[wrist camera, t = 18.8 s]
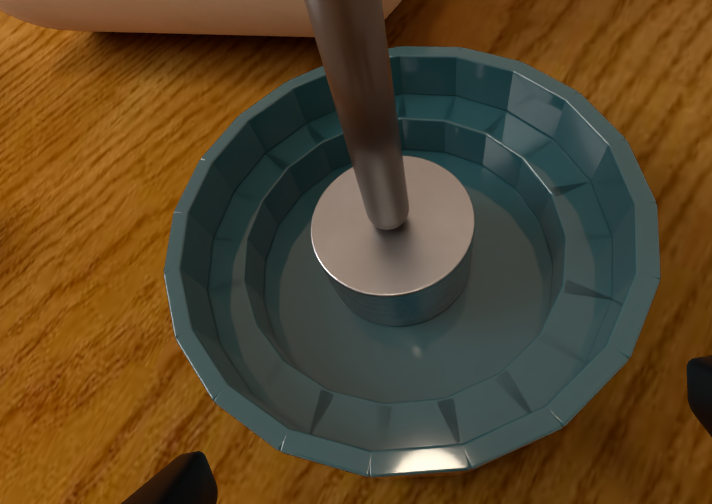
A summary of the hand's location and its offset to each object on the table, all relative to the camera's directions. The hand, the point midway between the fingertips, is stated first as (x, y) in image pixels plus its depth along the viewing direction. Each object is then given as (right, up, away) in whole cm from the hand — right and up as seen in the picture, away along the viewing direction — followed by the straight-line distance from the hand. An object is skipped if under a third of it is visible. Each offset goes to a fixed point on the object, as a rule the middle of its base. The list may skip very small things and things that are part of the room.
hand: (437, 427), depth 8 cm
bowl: (0, +3, +10) cm, 10 cm away
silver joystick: (0, +3, +9) cm, 10 cm away
